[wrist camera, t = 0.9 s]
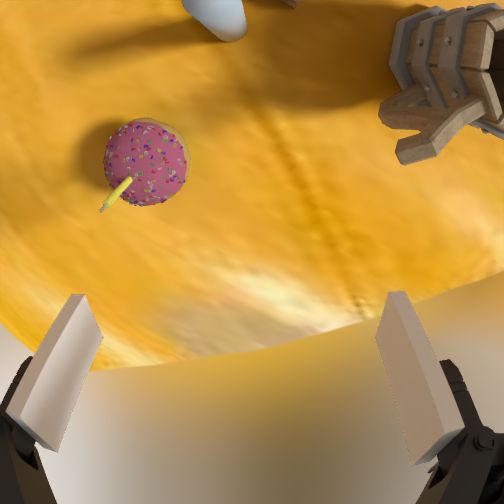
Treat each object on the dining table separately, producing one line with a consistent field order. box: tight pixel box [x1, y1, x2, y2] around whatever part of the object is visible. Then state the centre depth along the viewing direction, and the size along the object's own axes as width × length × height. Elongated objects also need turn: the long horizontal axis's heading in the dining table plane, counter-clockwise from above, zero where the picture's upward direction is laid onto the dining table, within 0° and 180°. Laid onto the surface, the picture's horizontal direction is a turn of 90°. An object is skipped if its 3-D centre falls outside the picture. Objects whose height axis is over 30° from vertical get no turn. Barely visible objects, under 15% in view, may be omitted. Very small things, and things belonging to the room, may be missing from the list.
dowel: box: [182, 0, 247, 42], centre depth 19 cm, size 3×3×14 cm
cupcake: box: [100, 118, 191, 212], centre depth 27 cm, size 9×8×12 cm
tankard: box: [378, 3, 504, 165], centre depth 20 cm, size 20×13×15 cm, turn 125°
